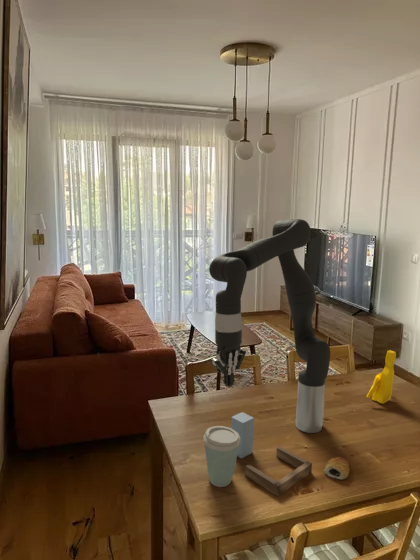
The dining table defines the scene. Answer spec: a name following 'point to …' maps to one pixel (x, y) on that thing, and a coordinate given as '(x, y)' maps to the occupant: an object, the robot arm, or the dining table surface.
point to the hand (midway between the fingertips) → (228, 385)
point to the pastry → (337, 468)
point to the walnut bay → (287, 481)
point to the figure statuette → (384, 380)
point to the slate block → (243, 432)
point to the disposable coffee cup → (221, 454)
